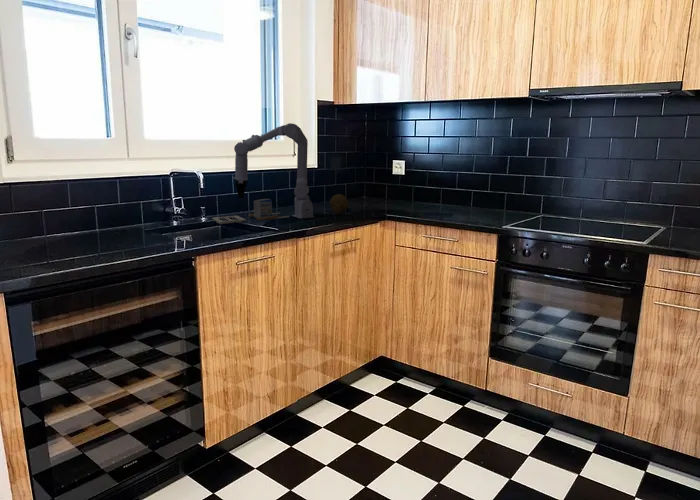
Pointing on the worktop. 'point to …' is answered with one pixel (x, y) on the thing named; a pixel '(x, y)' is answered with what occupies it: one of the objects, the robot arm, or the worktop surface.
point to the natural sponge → (339, 203)
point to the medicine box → (262, 208)
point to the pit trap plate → (228, 219)
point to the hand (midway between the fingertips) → (241, 196)
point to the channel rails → (264, 217)
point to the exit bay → (280, 217)
